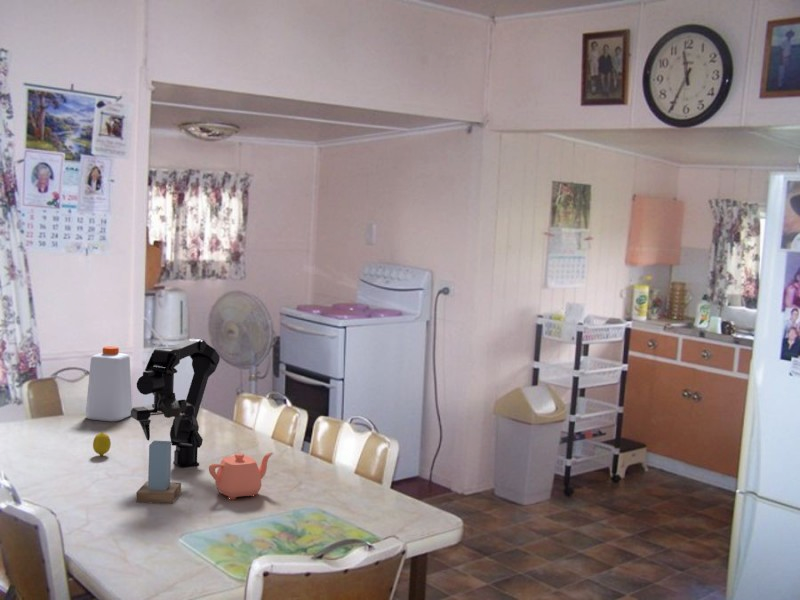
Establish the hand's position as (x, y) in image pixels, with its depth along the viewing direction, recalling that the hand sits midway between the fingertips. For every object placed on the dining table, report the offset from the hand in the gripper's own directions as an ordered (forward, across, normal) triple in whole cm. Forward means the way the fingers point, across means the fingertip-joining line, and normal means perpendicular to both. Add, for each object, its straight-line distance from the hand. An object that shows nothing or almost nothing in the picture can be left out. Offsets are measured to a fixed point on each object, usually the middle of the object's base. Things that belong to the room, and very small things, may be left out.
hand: (162, 438), depth 256 cm
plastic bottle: (+12, +13, +81) cm, 83 cm away
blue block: (+9, -9, -18) cm, 22 cm away
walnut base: (+12, -9, -18) cm, 24 cm away
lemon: (+12, -8, +30) cm, 33 cm away
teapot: (+12, +13, -27) cm, 32 cm away
